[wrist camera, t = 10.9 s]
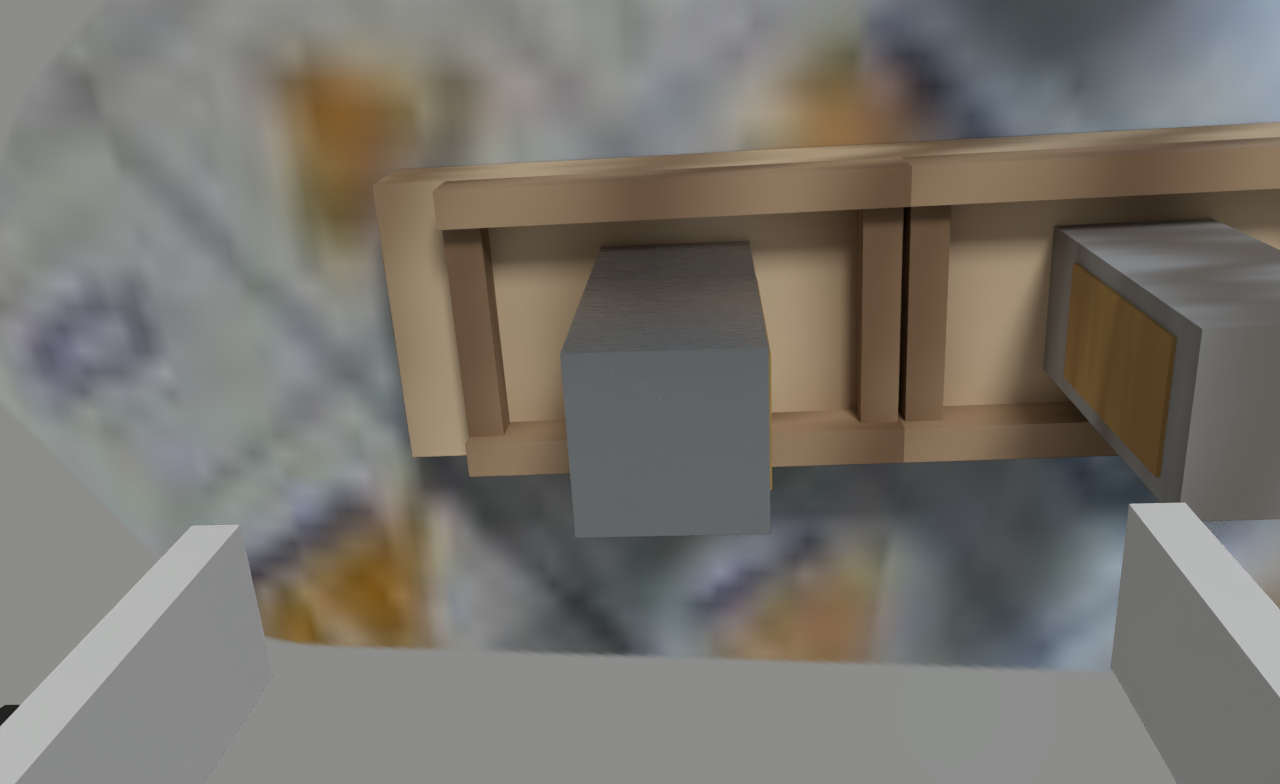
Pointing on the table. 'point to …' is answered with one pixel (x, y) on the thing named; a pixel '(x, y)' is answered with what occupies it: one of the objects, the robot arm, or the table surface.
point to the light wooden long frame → (886, 299)
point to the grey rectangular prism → (669, 394)
